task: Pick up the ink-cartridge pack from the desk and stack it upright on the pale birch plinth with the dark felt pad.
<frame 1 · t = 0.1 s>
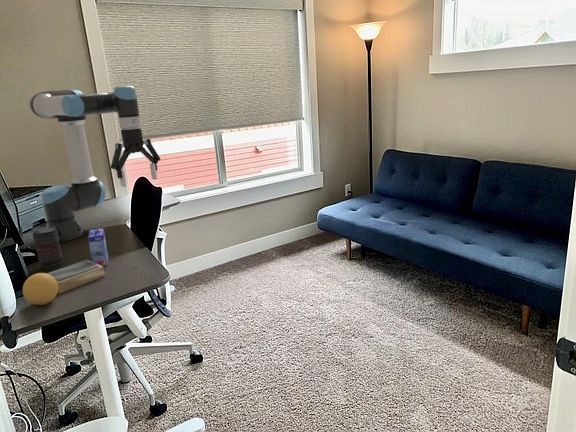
hand: (139, 182, 174), 28 cm above the table, fingers open, 13 cm apart
stress ball: (44, 303, 140), on the table
plinth: (75, 280, 156), on the table
dark lidded jar: (52, 266, 170), on the table
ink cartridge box: (101, 262, 171), on the table
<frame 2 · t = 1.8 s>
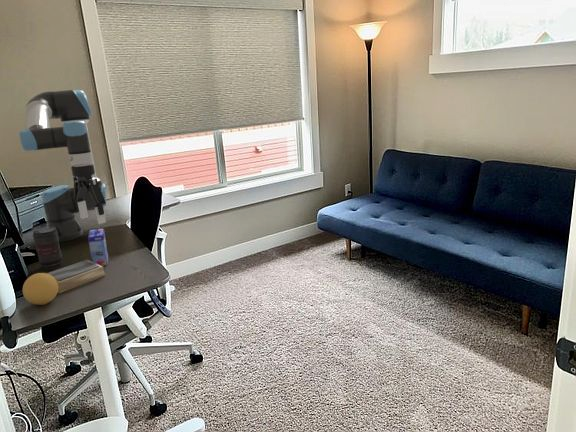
hand: (93, 220, 166), 17 cm above the table, fingers open, 13 cm apart
nothing on the table moved.
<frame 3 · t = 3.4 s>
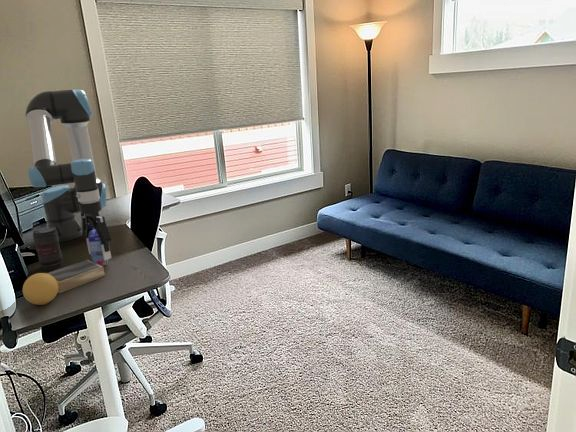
hand: (100, 256, 170), 3 cm above the table, fingers closed on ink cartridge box, 11 cm apart
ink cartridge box: (101, 262, 171), on the table, touching gripper
everything else where it was.
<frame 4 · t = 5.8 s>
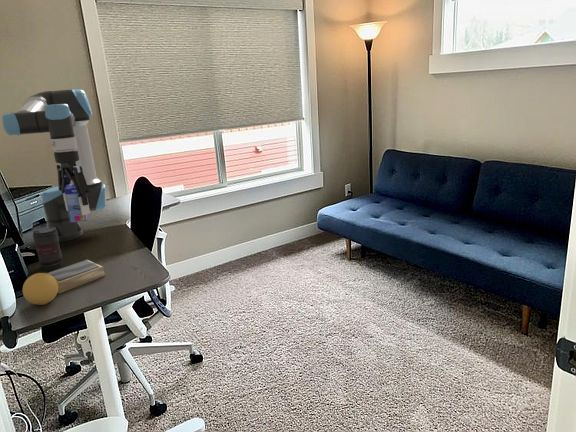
hand: (78, 212, 157), 23 cm above the table, fingers closed on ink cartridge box, 11 cm apart
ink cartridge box: (79, 219, 158), point 20 cm above the table, touching gripper
everything else where it was.
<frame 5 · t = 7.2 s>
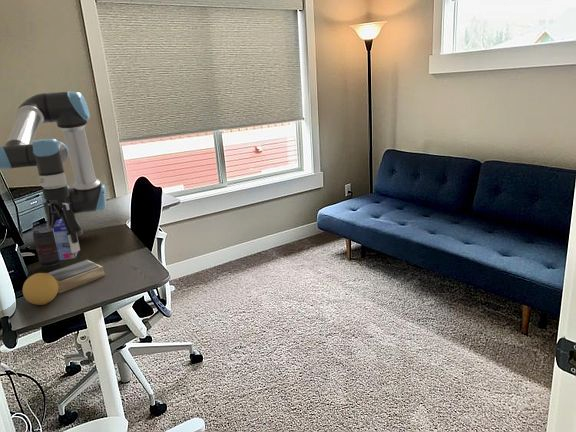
hand: (68, 248, 152), 12 cm above the table, fingers closed on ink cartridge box, 11 cm apart
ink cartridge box: (69, 255, 153), point 9 cm above the table, touching gripper
everything else where it was.
when the fingers open (8 cm above the table, at t = 8.5 s): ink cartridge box drops 1 cm, resting on plinth.
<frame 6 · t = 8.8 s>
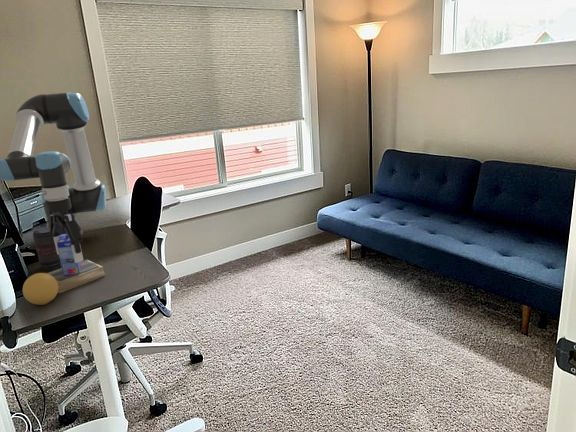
hand: (70, 257, 153), 9 cm above the table, fingers open, 13 cm apart
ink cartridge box: (73, 270, 155), point 4 cm above the table, touching plinth
everything else where it was.
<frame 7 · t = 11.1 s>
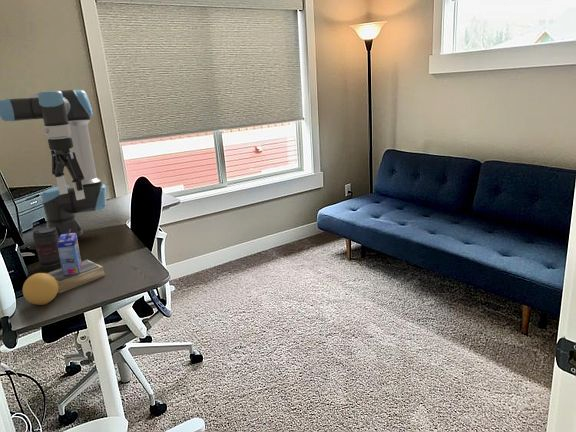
hand: (72, 196, 159), 28 cm above the table, fingers open, 13 cm apart
nothing on the table moved.
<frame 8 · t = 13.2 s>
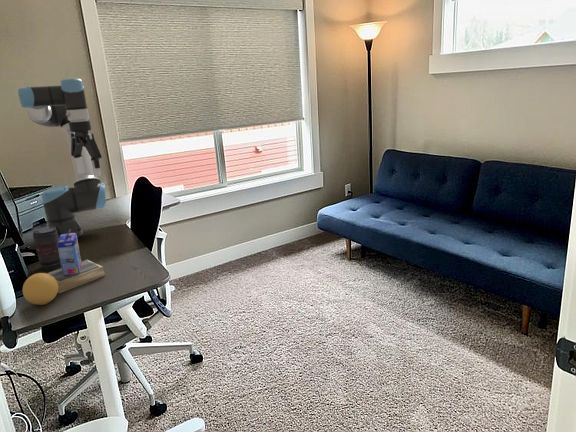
hand: (89, 175, 176), 32 cm above the table, fingers open, 13 cm apart
nothing on the table moved.
at the end: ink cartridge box inside the target area on the plinth (0.2 cm from its centre), point 3.8 cm above the plinth's base; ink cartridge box tilted 0°; the gripper is holding nothing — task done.
